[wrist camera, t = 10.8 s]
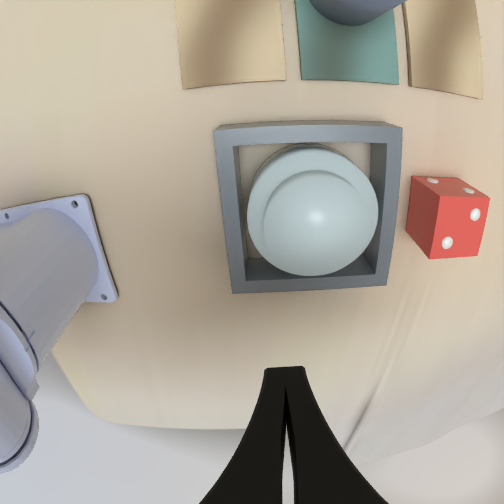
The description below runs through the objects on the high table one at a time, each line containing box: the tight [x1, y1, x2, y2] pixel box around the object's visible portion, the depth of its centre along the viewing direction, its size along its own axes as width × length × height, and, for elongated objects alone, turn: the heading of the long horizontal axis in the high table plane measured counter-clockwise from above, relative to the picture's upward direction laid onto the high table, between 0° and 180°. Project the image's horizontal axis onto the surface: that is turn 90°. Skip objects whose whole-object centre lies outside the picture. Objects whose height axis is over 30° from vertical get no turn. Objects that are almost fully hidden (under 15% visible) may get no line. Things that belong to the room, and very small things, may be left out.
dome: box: [247, 143, 378, 276], centre depth 15 cm, size 6×6×4 cm
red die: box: [406, 176, 490, 259], centre depth 15 cm, size 4×4×4 cm
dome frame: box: [213, 120, 403, 294], centre depth 16 cm, size 9×9×2 cm
